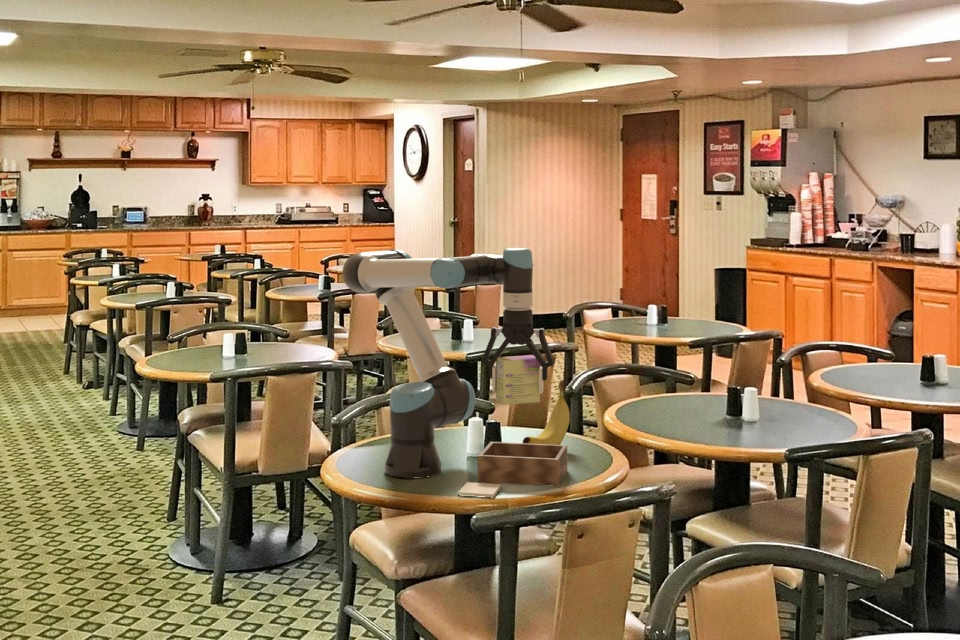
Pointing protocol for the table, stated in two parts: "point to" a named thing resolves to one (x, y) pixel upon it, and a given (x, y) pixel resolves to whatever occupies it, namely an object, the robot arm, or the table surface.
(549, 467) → the crate
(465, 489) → the tile
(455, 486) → the table surface
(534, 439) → the banana
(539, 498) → the table surface
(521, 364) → the box
